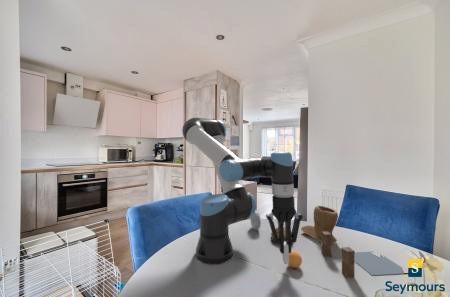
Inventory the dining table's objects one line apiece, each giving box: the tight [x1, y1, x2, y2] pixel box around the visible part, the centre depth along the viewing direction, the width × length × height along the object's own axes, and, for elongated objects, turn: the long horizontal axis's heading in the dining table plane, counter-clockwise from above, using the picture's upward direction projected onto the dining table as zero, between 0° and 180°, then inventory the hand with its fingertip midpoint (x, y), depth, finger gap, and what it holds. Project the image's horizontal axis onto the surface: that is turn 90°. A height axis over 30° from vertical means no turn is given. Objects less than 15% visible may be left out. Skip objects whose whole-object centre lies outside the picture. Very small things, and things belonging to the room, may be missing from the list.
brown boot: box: [300, 205, 339, 244], centre depth 95 cm, size 15×12×15 cm
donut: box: [250, 209, 262, 231], centre depth 105 cm, size 10×4×10 cm, turn 9°
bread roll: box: [270, 226, 295, 245], centre depth 93 cm, size 10×10×8 cm
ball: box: [287, 250, 303, 269], centre depth 73 cm, size 6×6×6 cm
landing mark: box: [354, 251, 405, 277], centre depth 75 cm, size 14×14×1 cm
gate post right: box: [341, 246, 356, 279], centre depth 68 cm, size 3×3×9 cm
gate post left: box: [321, 231, 333, 258], centre depth 80 cm, size 3×3×9 cm
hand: (285, 261), depth 71 cm, fingers closed
